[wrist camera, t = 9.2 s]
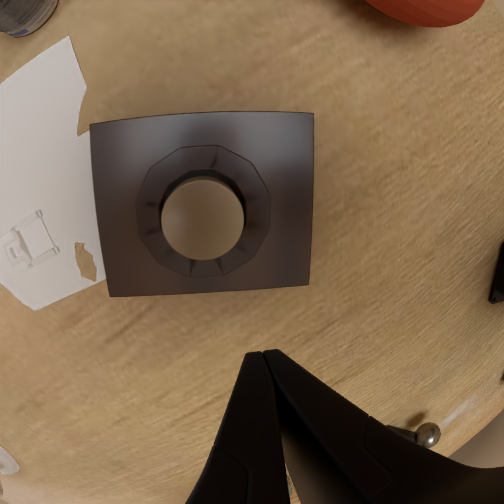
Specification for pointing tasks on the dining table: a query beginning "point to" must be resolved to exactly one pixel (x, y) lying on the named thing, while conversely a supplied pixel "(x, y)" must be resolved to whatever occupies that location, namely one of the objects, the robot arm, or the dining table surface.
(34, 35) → the dining table surface
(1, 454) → the figurine
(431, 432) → the lever
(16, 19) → the pill bottle
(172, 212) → the button
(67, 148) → the white flat sheet
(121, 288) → the dimmer box
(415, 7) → the tomato
